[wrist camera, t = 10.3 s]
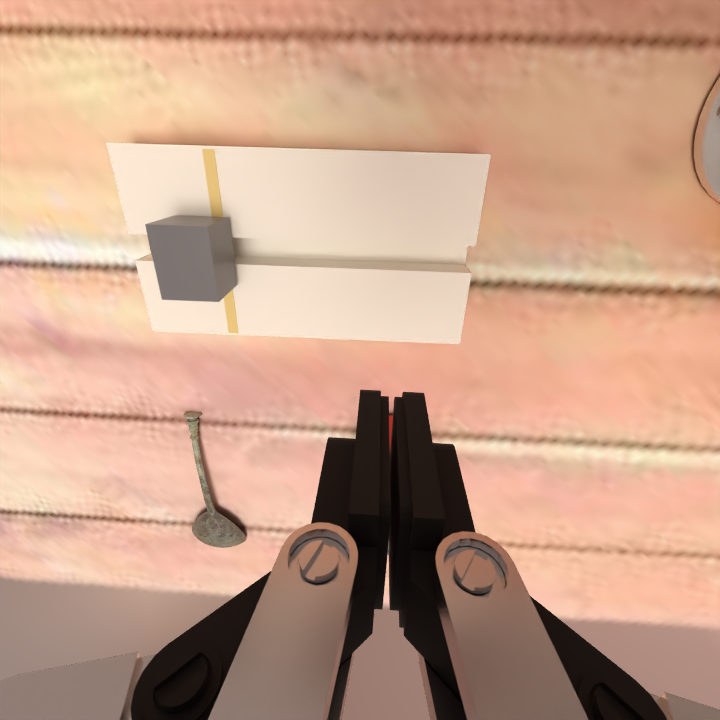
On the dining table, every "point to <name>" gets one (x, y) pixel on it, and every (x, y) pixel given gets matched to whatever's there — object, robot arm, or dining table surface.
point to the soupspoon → (210, 503)
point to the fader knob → (193, 257)
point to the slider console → (316, 237)
